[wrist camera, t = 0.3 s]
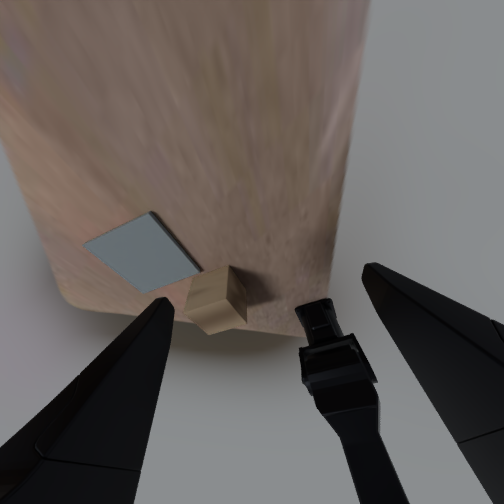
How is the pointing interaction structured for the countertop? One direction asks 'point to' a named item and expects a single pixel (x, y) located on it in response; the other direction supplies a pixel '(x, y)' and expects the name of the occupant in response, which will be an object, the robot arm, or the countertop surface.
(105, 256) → the coaster
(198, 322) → the beige cube
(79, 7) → the countertop surface
